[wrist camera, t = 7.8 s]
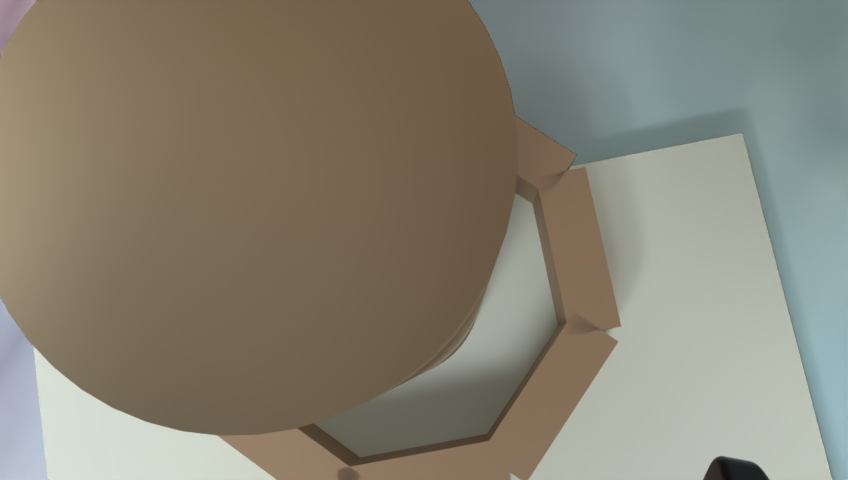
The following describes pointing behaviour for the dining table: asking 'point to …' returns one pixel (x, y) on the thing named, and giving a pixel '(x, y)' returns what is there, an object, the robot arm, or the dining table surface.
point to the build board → (637, 396)
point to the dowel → (250, 199)
